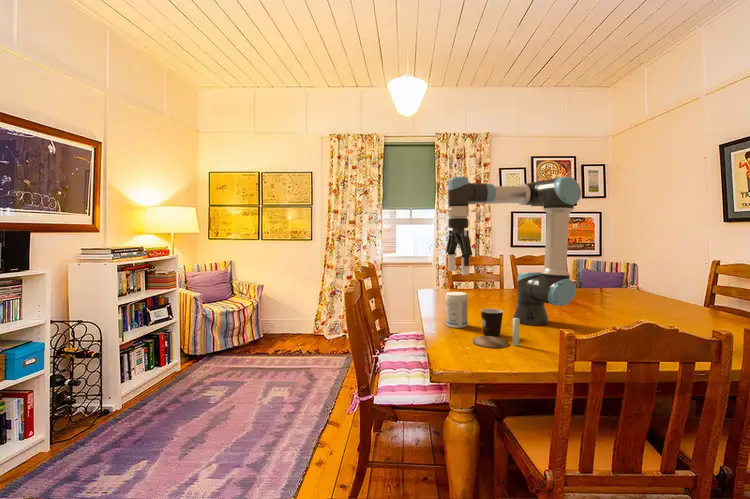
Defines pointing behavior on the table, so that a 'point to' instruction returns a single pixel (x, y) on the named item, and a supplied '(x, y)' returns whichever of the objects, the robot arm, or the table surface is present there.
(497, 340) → the walnut base
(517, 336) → the dowel
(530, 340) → the table surface
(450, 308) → the supplement tub
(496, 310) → the coffee mug
